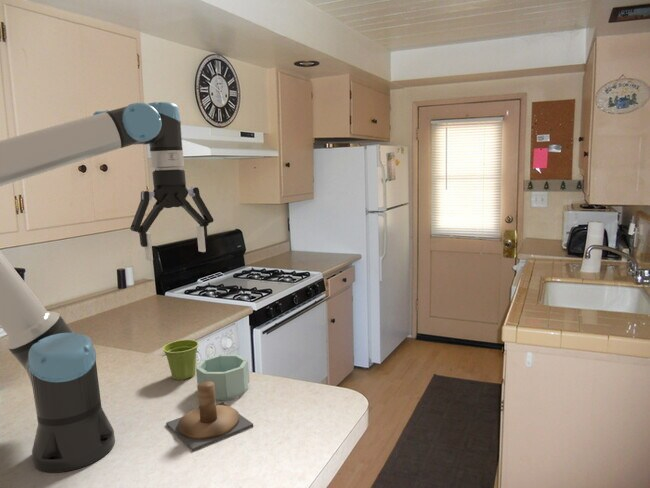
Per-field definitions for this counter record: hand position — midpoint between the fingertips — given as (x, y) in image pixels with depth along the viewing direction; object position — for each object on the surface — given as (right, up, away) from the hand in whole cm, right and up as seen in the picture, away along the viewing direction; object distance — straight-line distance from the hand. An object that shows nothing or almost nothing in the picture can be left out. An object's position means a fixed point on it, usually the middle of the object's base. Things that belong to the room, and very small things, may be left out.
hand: (176, 255), depth 126 cm
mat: (+11, -37, -14) cm, 41 cm away
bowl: (+11, -34, +3) cm, 36 cm away
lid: (+11, -37, -15) cm, 41 cm away
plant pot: (-2, -33, +13) cm, 36 cm away
